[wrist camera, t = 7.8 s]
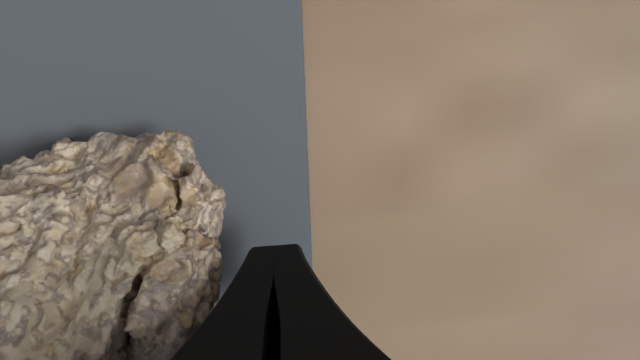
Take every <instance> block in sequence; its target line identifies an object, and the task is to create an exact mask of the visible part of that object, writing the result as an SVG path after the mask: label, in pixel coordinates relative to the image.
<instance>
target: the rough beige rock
mask: <svg viewBox="0 0 640 360" xmlns="http://www.w3.org/2000/svg"><path fill="white" fill-rule="evenodd" d="M195 157H196V154H195V151H194V146H193V140H192V138H191V137H189V136H187V135H185V134H184V133H181V131H180V130H177V131H175V132H173V131H170V130H168V129H166V130H164V131H163V132H162V133H161V134H160V135H157V134H154V133H152V134H150V133H149V132H146V133H143V134H140V135H139V136H138V137H136V138H132V137H129V136H126V135H122V134H119V135H115V134H114V133H110V132H103V131H101V132H98V133H96V134H95V135H94V136H92V137H91V138H90V139H89V141H87V142H79V141H78V142H75V141H74V142H72V140H71V139H70V138H68V137H64V138H63V139H61V140H57V141H56V143H55V144H53V146H52V149H51V151H49V150H45V151H41V152H39V153H38V154H37V155H36V156H35V157H34V159H29V158H26V157H25V156H21V157H20V158H19V159H16V160H15V161H13V162H12V163H11V164H3V165H2V169H1V170H0V360H170V359H171V358H172V357H173V356H174V355H175V354H176V353H177V352H178V350H179V349H180V348H181V347H182V346H183V345H184V344H185V343H186V342H187V341H188V339H189V338H190V337H191V336H192V335H193V334H194V332H195V331H196V330H197V329H198V328H199V326H200V325H201V324H202V323H203V321H204V320H205V319H206V317H207V316H208V315H209V313H210V311H211V310H212V309H213V306H214V303H215V302H218V301H219V296H220V284H219V282H220V281H221V278H222V272H223V269H222V268H223V263H222V262H221V257H222V256H221V253H220V252H219V251H218V250H219V249H220V246H221V245H220V242H219V240H218V236H219V235H220V233H221V230H222V225H223V223H222V221H223V217H224V216H223V210H224V209H225V207H226V201H225V198H224V197H225V195H226V194H225V192H224V189H223V187H222V186H220V185H215V184H213V183H212V181H211V179H208V177H207V174H206V173H205V172H204V171H203V170H201V166H200V164H199V161H198V160H196V159H195Z"/></svg>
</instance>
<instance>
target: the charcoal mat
mask: <svg viewBox="0 0 640 360" xmlns="http://www.w3.org/2000/svg"><path fill="white" fill-rule="evenodd" d="M166 129H168V130H170V131H173V132H175V131H177V130H180V131H181V133H184V134H185V135H187V136H189V137H191V138H192V140H193V146H194V151H195V154H196V157H195V159H196V160H198V161H199V164H200V166H201V170H203V171H204V172H205V173H206V174H207V177H208V179H211V181H212V183H213V184H215V185H220V186H222V187H223V189H224V192H225V194H226V195H225V197H224V198H225V201H226V207H225V209H224V210H223V216H224V217H223V221H222V223H223V225H222V230H221V233H220V235H219V236H218V240H219V242H220V245H221V246H220V249H219V250H218V251H219V252H220V253H221V256H222V257H221V262H222V263H223V268H222V269H223V272H222V278H221V281H220V282H219V284H220V296H219V300H220V299H221V297H222V296H223V294H224V293H225V291H226V290H227V288H228V287H229V285H230V284H231V282H232V281H233V279H234V277H235V276H236V274H237V272H238V271H239V269H240V267H241V265H242V264H243V262H244V260H245V258H246V256H247V254H248V252H249V251H250V249H251V248H252V247H259V246H273V245H286V244H298V245H299V246H300V247H301V248H302V251H303V253H304V255H305V258H306V260H307V261H308V263H309V265H310V267H311V268H312V251H311V226H310V201H309V176H308V151H307V126H306V101H305V76H304V51H303V26H302V1H301V0H0V170H1V169H2V165H3V164H11V163H12V162H13V161H15V160H16V159H19V158H20V157H21V156H25V157H26V158H29V159H34V157H35V156H36V155H37V154H38V153H39V152H41V151H45V150H49V151H51V149H52V146H53V144H55V143H56V141H57V140H61V139H63V138H64V137H68V138H70V139H71V140H72V142H74V141H75V142H78V141H79V142H87V141H89V139H90V138H91V137H92V136H94V135H95V134H96V133H98V132H101V131H103V132H110V133H114V134H115V135H119V134H122V135H126V136H129V137H132V138H136V137H138V136H139V135H140V134H143V133H146V132H149V133H150V134H152V133H154V134H157V135H160V134H161V133H162V132H163V131H164V130H166ZM217 303H218V302H215V303H214V306H213V308H214V307H215V305H216V304H217ZM211 311H212V310H211ZM211 311H210V312H211Z"/></svg>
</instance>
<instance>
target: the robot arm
mask: <svg viewBox="0 0 640 360" xmlns="http://www.w3.org/2000/svg"><path fill="white" fill-rule="evenodd" d="M170 360H391V359H390V358H389V357H388V356H386V355H385V354H384V353H383V352H382V351H381V350H380V349H379V348H378V347H376V346H375V345H374V344H373V343H372V342H371V341H370V340H369V339H368V338H367V337H366V336H365V335H364V334H363V333H362V332H361V331H360V330H359V329H358V328H357V327H356V326H355V325H354V324H353V323H352V322H351V320H350V319H349V318H348V317H347V316H346V315H345V314H344V312H343V311H342V310H341V309H340V308H339V306H338V305H337V304H336V303H335V302H334V300H333V299H332V298H331V296H330V295H329V294H328V292H327V291H326V290H325V288H324V287H323V285H322V284H321V282H320V281H319V280H318V278H317V277H316V275H315V273H314V272H313V270H312V268H311V267H310V265H309V263H308V261H307V260H306V258H305V255H304V253H303V251H302V248H301V247H300V246H299V245H298V244H286V245H273V246H259V247H252V248H251V249H250V251H249V252H248V254H247V256H246V258H245V260H244V262H243V264H242V265H241V267H240V269H239V271H238V272H237V274H236V276H235V277H234V279H233V281H232V282H231V284H230V285H229V287H228V288H227V290H226V291H225V293H224V294H223V296H222V297H221V299H220V300H219V301H218V303H217V304H216V305H215V307H214V308H213V309H212V311H211V312H210V313H209V315H208V316H207V317H206V319H205V320H204V321H203V323H202V324H201V325H200V326H199V328H198V329H197V330H196V331H195V332H194V334H193V335H192V336H191V337H190V338H189V339H188V341H187V342H186V343H185V344H184V345H183V346H182V347H181V348H180V349H179V350H178V352H177V353H176V354H175V355H174V356H173V357H172V358H171V359H170Z"/></svg>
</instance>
